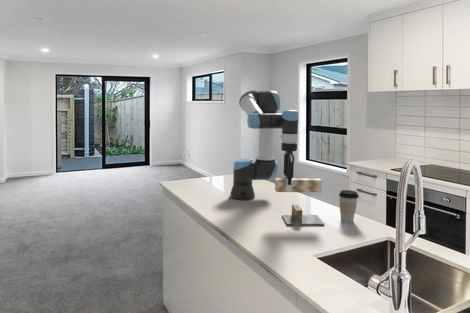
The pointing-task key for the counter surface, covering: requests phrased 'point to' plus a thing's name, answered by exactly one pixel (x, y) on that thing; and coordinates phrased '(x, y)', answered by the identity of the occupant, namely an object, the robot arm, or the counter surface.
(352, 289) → the counter surface
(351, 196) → the coffee cup
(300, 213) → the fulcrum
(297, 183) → the beech bar
